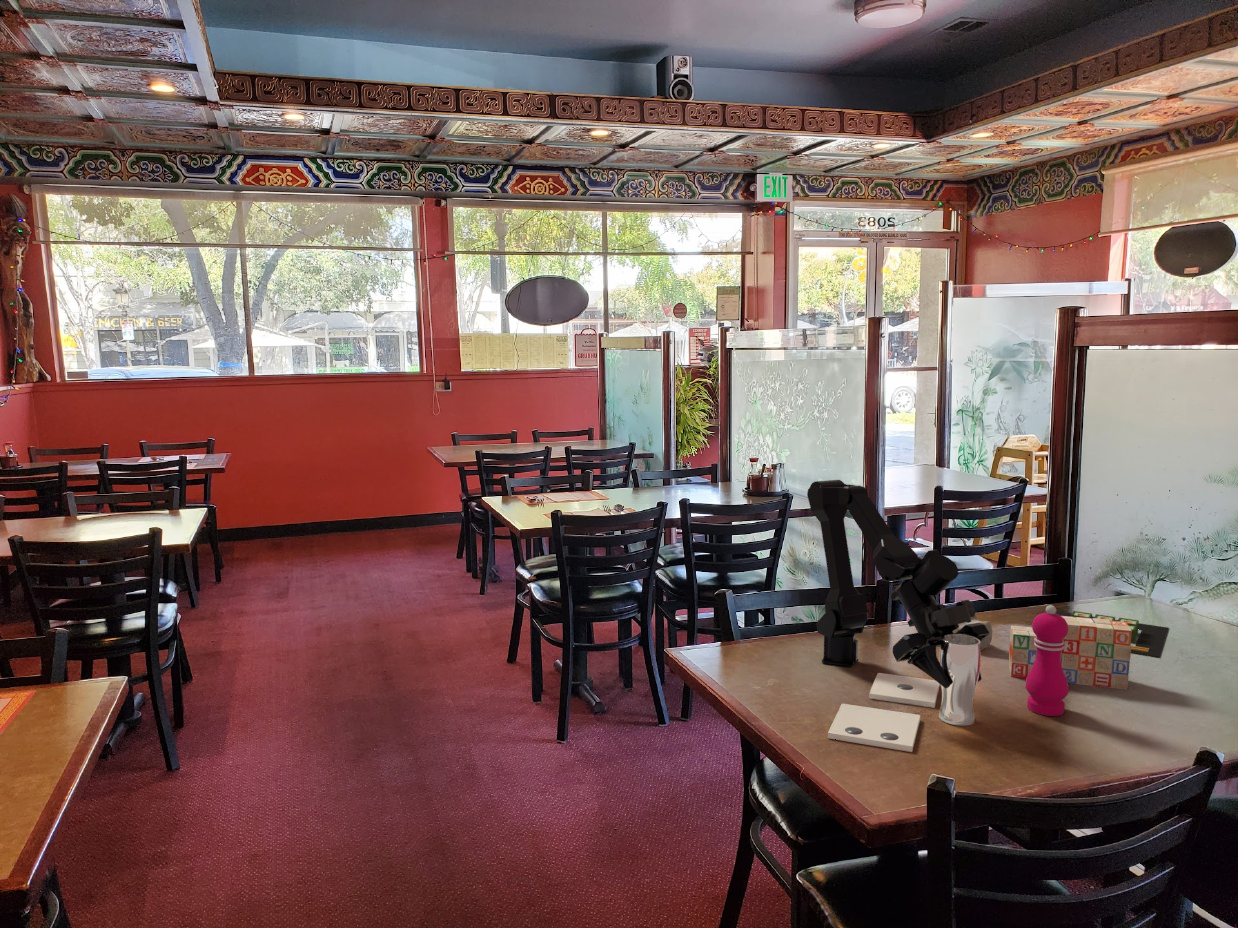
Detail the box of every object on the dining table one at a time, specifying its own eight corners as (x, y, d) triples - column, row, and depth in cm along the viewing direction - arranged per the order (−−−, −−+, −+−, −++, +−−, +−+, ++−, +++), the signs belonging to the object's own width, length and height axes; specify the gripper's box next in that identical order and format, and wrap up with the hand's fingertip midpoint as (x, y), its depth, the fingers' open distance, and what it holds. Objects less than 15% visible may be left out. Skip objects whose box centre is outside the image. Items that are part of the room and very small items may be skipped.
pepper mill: (1016, 702, 169) (1021, 600, 166) (1053, 701, 170) (1058, 599, 167) (1037, 718, 162) (1043, 611, 159) (1075, 716, 162) (1081, 610, 160)
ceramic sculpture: (970, 617, 194) (922, 603, 208) (970, 656, 194) (922, 640, 208) (1007, 611, 198) (958, 598, 212) (1007, 650, 199) (957, 634, 212)
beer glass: (980, 728, 158) (985, 646, 156) (939, 724, 159) (943, 643, 157) (973, 712, 164) (977, 634, 163) (933, 709, 166) (937, 631, 164)
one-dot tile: (869, 698, 172) (869, 693, 172) (877, 677, 183) (877, 672, 183) (934, 707, 167) (935, 702, 167) (939, 685, 178) (939, 680, 178)
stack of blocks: (1010, 677, 182) (1013, 619, 181) (1008, 667, 188) (1010, 610, 187) (1128, 690, 175) (1132, 629, 174) (1122, 679, 181) (1126, 620, 179)
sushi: (1034, 640, 207) (1035, 624, 207) (1053, 614, 227) (1054, 599, 227) (1159, 660, 193) (1160, 644, 192) (1168, 631, 213) (1169, 616, 213)
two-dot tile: (827, 738, 154) (827, 732, 154) (841, 708, 167) (841, 703, 167) (912, 752, 149) (912, 746, 149) (920, 720, 161) (920, 714, 161)
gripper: (904, 591, 159) (947, 671, 150) (984, 580, 166) (1029, 655, 157) (874, 622, 167) (913, 699, 158) (951, 610, 174) (993, 683, 165)
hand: (963, 683), depth 160 cm, fingers closed on beer glass, 7 cm apart
